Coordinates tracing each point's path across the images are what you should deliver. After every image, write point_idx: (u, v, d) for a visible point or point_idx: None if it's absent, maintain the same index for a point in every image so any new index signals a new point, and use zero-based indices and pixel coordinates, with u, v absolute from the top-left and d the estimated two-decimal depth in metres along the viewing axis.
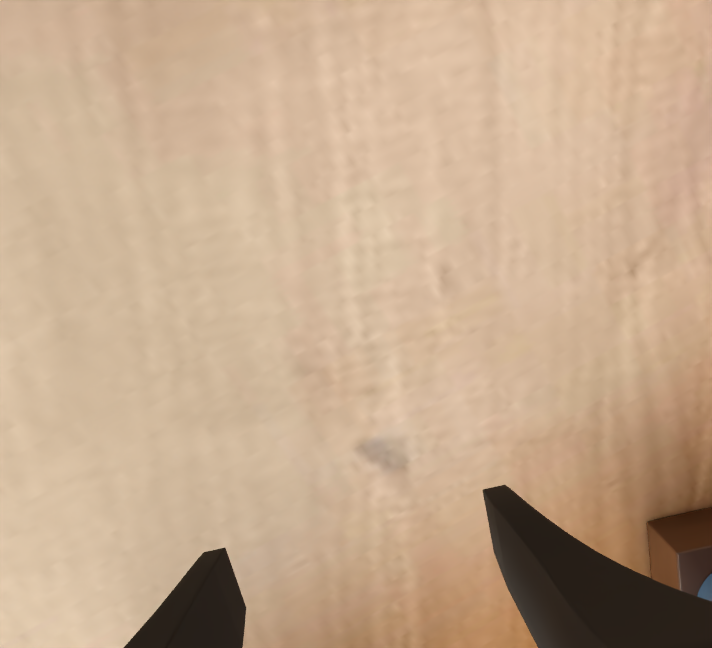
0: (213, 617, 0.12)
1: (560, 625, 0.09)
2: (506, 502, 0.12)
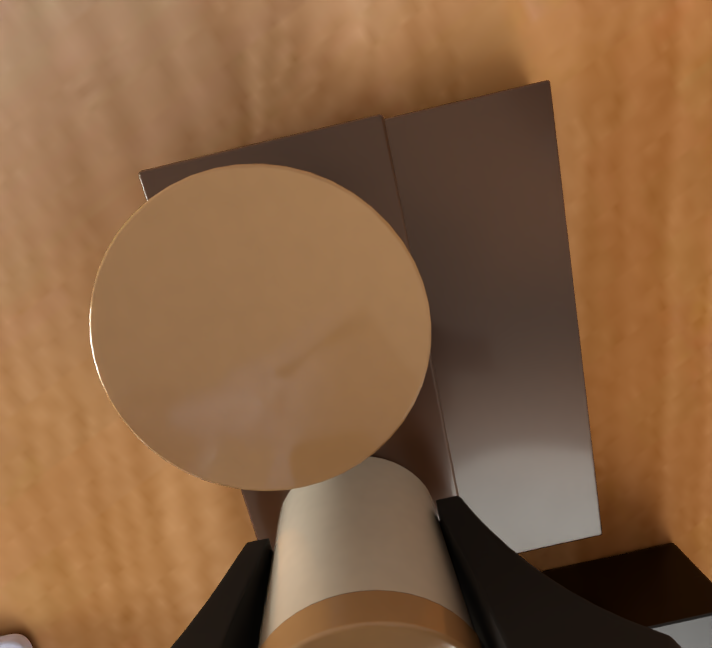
0: (262, 606, 0.12)
1: (492, 640, 0.09)
2: (455, 514, 0.12)
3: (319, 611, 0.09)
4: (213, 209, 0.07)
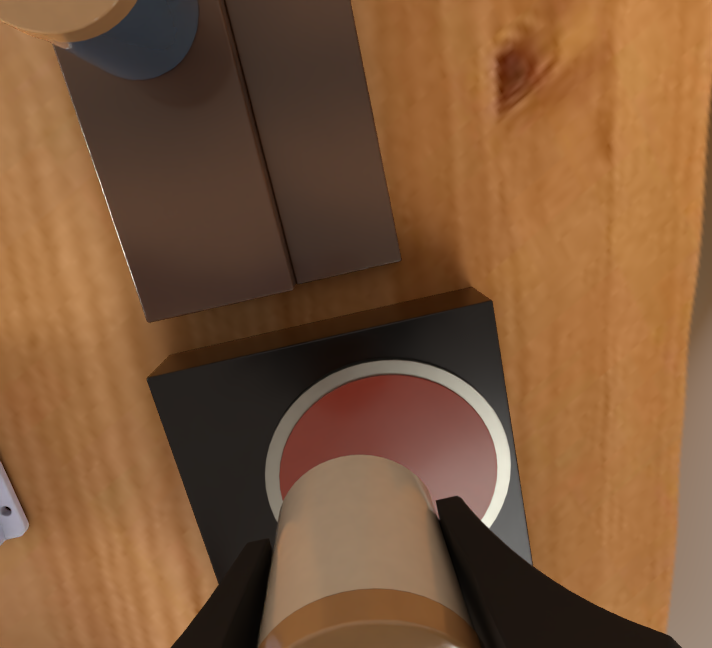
0: (262, 606, 0.12)
1: (492, 640, 0.09)
2: (455, 514, 0.12)
3: (318, 609, 0.09)
4: None
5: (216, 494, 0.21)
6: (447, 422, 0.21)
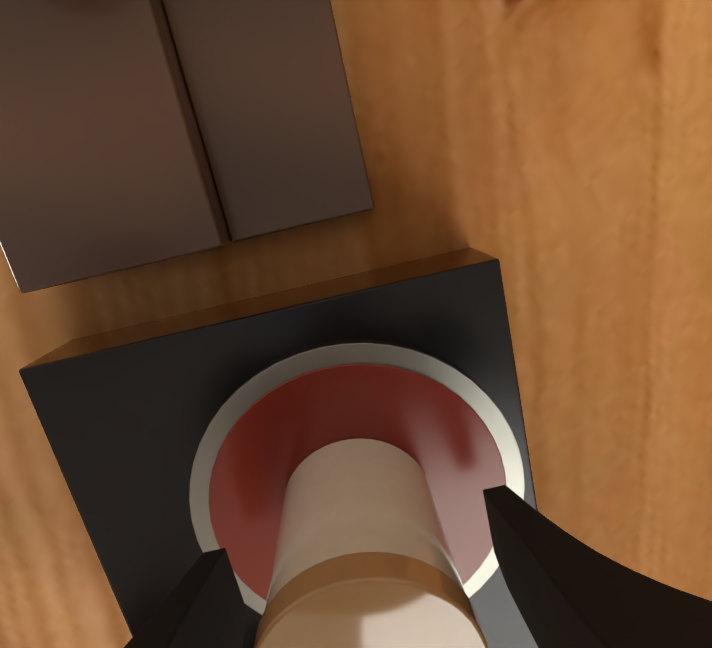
0: (213, 617, 0.12)
1: (560, 625, 0.09)
2: (506, 502, 0.12)
3: (321, 570, 0.10)
4: None
5: (126, 528, 0.16)
6: (437, 429, 0.15)
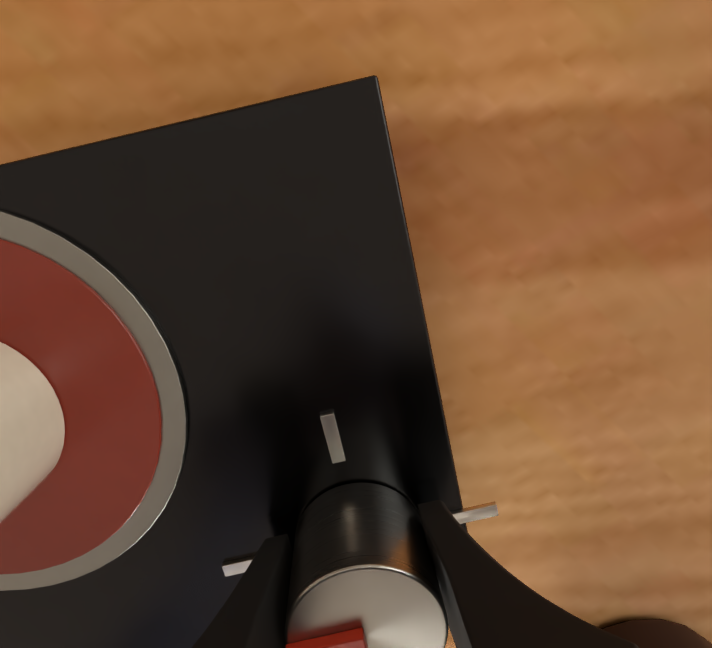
0: (283, 602, 0.12)
1: (466, 646, 0.09)
2: (435, 519, 0.12)
3: None
4: None
5: (55, 644, 0.15)
6: None
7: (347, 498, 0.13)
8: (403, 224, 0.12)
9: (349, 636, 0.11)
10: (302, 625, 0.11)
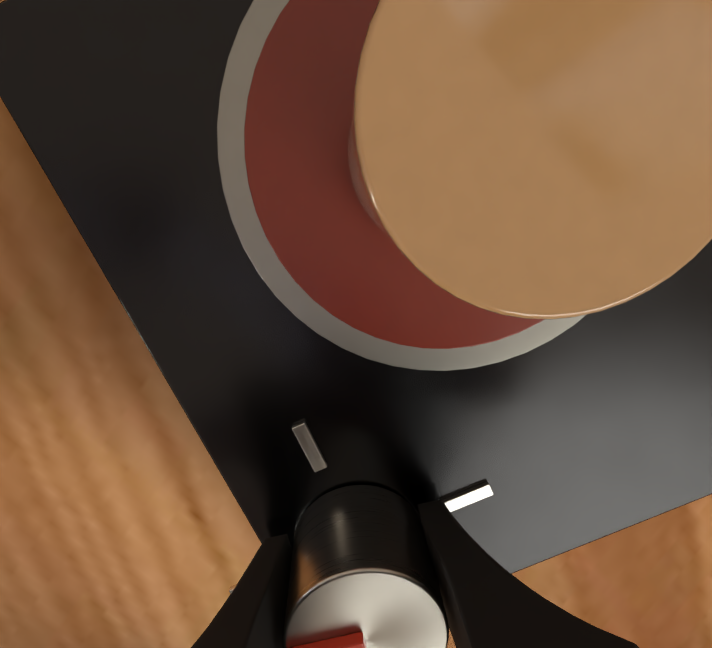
0: (283, 602, 0.12)
1: (465, 646, 0.09)
2: (435, 519, 0.12)
3: None
4: None
5: (148, 251, 0.12)
6: None
7: (347, 500, 0.13)
8: (665, 511, 0.14)
9: (349, 641, 0.11)
10: (301, 629, 0.11)
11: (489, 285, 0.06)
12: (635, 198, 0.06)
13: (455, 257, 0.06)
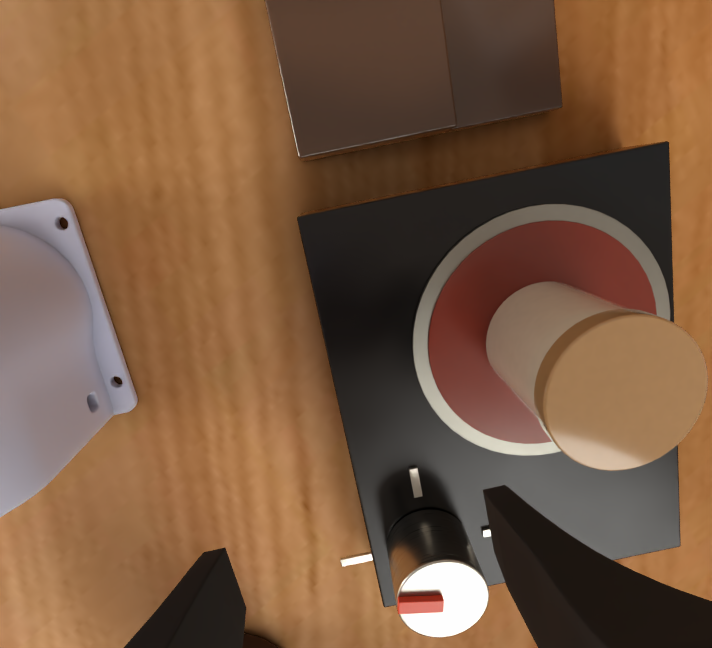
0: (213, 617, 0.12)
1: (560, 625, 0.09)
2: (507, 502, 0.12)
3: (597, 316, 0.14)
4: None
5: (358, 354, 0.20)
6: (610, 277, 0.19)
7: (433, 519, 0.21)
8: None
9: (435, 598, 0.19)
10: (410, 587, 0.19)
11: (579, 452, 0.15)
12: (643, 431, 0.15)
13: (569, 439, 0.15)
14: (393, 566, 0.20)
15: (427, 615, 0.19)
